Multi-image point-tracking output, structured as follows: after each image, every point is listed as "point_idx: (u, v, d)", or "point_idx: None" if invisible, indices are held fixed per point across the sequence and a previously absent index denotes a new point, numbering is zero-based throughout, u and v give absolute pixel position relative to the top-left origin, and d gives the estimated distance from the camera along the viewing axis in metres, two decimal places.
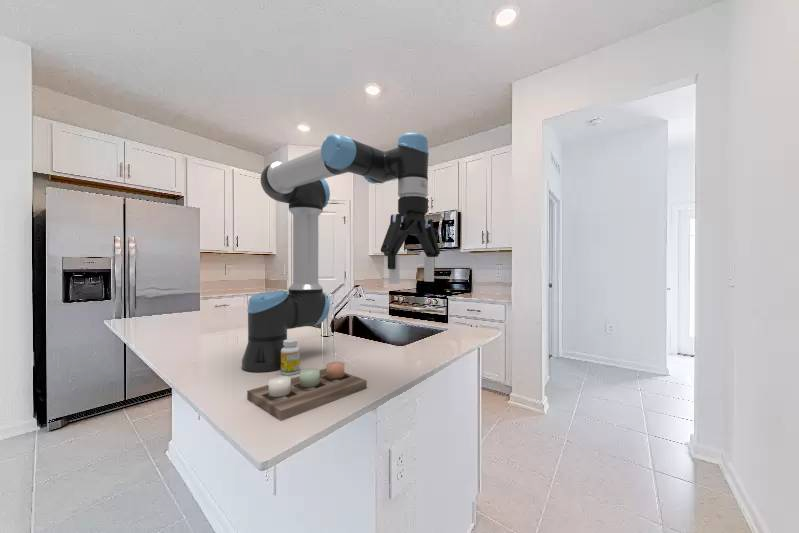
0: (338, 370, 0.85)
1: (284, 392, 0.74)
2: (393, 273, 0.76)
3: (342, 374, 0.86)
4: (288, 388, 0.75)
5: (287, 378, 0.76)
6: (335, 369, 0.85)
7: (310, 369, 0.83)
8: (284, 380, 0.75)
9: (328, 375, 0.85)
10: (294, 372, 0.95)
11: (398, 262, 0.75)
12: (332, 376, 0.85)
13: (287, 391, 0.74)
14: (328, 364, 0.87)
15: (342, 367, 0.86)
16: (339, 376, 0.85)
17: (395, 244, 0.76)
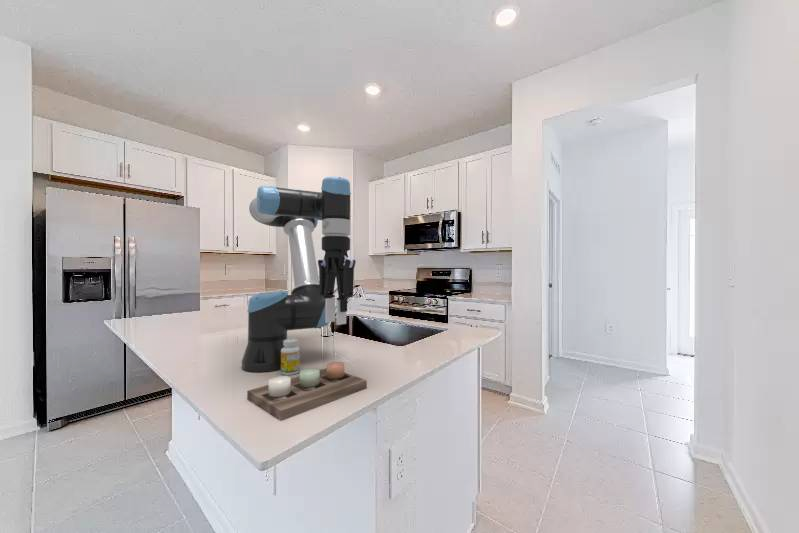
0: (338, 370, 0.85)
1: (284, 392, 0.74)
2: None
3: (342, 374, 0.86)
4: (288, 388, 0.75)
5: (287, 378, 0.76)
6: (335, 369, 0.85)
7: (310, 369, 0.83)
8: (284, 380, 0.75)
9: (328, 375, 0.85)
10: (294, 372, 0.95)
11: (326, 304, 0.88)
12: (332, 376, 0.85)
13: (287, 391, 0.74)
14: (328, 364, 0.87)
15: (342, 367, 0.86)
16: (339, 376, 0.85)
17: None
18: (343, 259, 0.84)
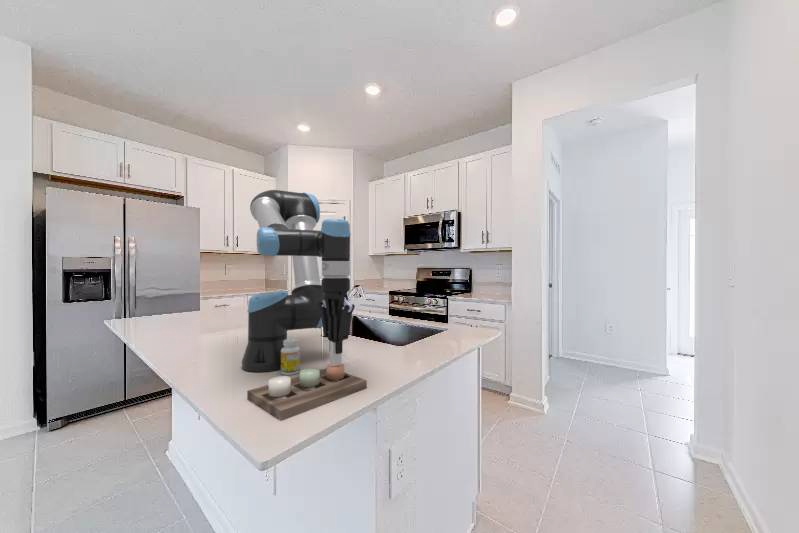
0: (338, 372, 0.85)
1: (284, 392, 0.74)
2: None
3: (342, 376, 0.86)
4: (288, 388, 0.75)
5: (287, 378, 0.76)
6: (335, 371, 0.85)
7: (310, 369, 0.83)
8: (284, 380, 0.75)
9: (328, 377, 0.85)
10: (294, 372, 0.95)
11: (330, 347, 0.86)
12: (332, 377, 0.85)
13: (287, 391, 0.74)
14: (328, 366, 0.87)
15: (342, 369, 0.86)
16: (339, 378, 0.85)
17: None
18: (343, 302, 0.84)
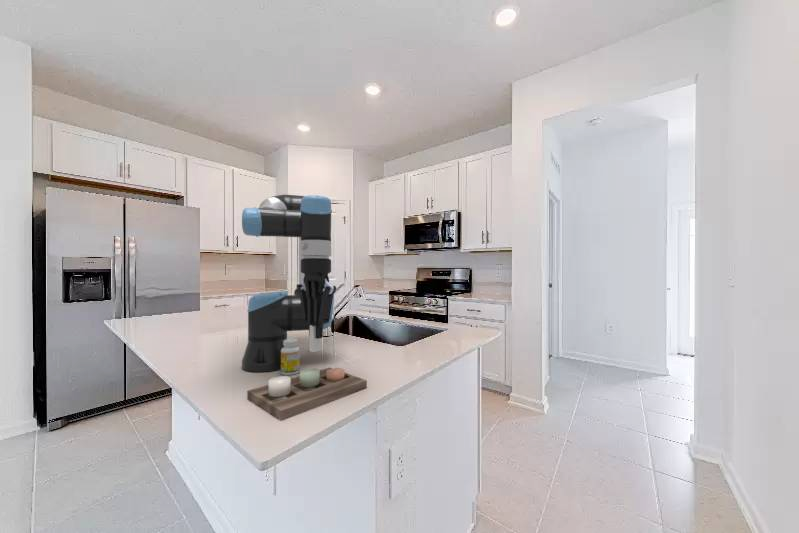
0: (338, 377, 0.85)
1: (284, 392, 0.74)
2: None
3: None
4: (288, 388, 0.75)
5: (287, 378, 0.76)
6: (335, 376, 0.85)
7: (310, 369, 0.83)
8: (284, 380, 0.75)
9: None
10: (294, 372, 0.95)
11: (310, 332, 0.82)
12: None
13: (287, 391, 0.74)
14: (328, 371, 0.87)
15: (342, 374, 0.86)
16: None
17: None
18: (323, 284, 0.79)
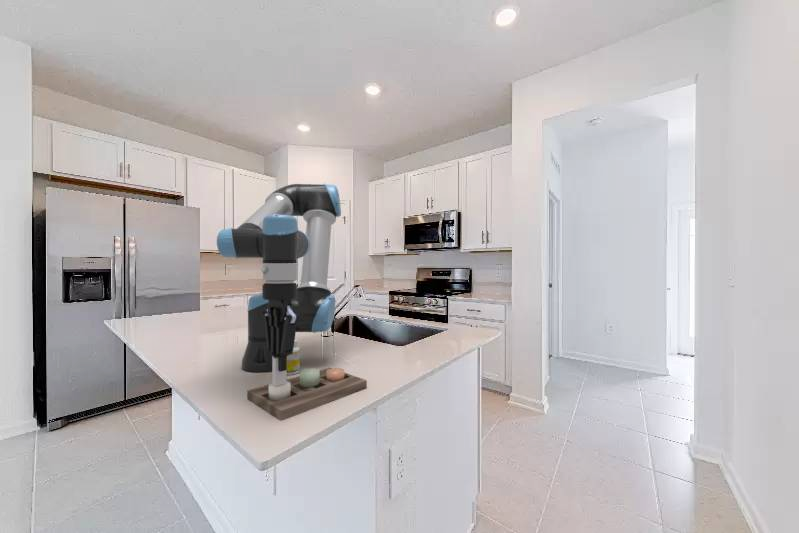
0: (338, 377, 0.85)
1: (284, 397, 0.74)
2: None
3: None
4: (288, 393, 0.75)
5: (287, 383, 0.76)
6: (335, 376, 0.85)
7: (310, 369, 0.83)
8: (284, 385, 0.75)
9: None
10: (294, 372, 0.95)
11: (273, 364, 0.74)
12: None
13: (287, 396, 0.74)
14: (328, 371, 0.87)
15: (342, 374, 0.86)
16: None
17: None
18: (285, 312, 0.72)
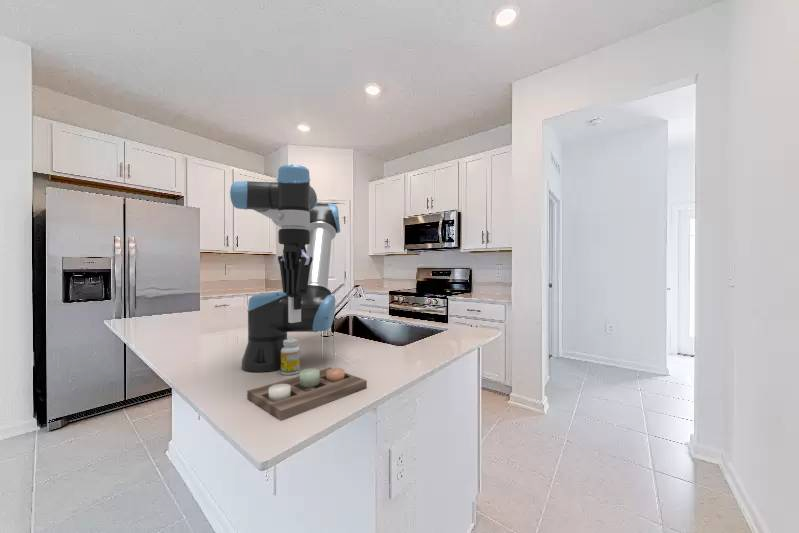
0: (338, 377, 0.85)
1: None
2: None
3: None
4: (288, 396, 0.75)
5: (287, 385, 0.76)
6: (335, 376, 0.85)
7: (310, 369, 0.83)
8: (284, 388, 0.75)
9: None
10: (294, 372, 0.95)
11: (289, 303, 0.81)
12: None
13: None
14: (328, 371, 0.87)
15: (342, 374, 0.86)
16: None
17: None
18: (300, 254, 0.79)
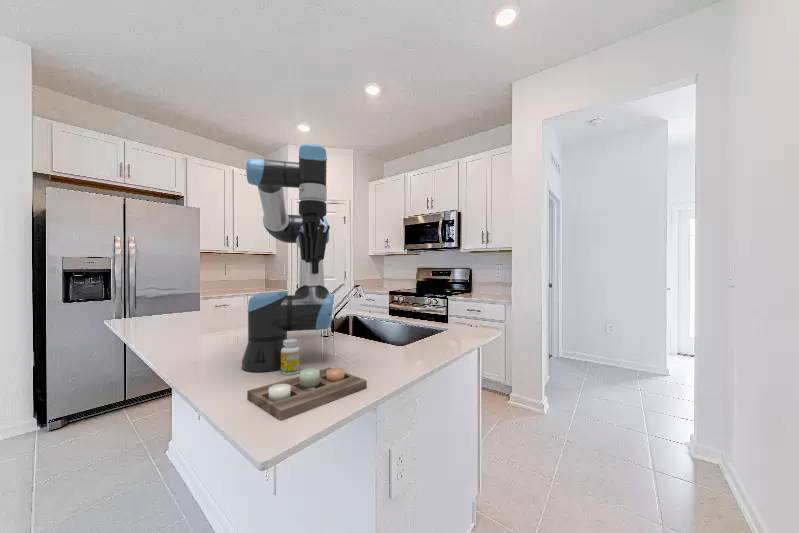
0: (338, 377, 0.85)
1: None
2: None
3: None
4: (288, 396, 0.75)
5: (287, 385, 0.76)
6: (335, 376, 0.85)
7: (310, 369, 0.83)
8: (284, 388, 0.75)
9: None
10: (294, 372, 0.95)
11: (307, 268, 0.90)
12: None
13: None
14: (328, 371, 0.87)
15: (342, 374, 0.86)
16: None
17: None
18: (318, 223, 0.88)
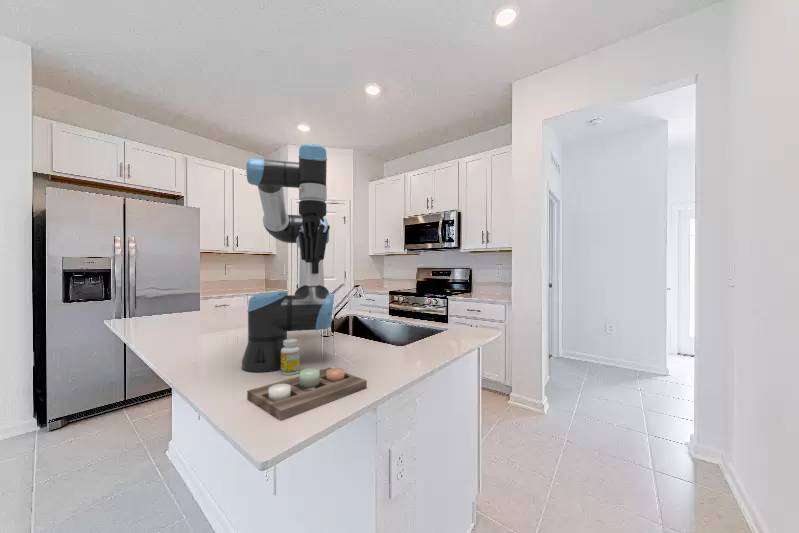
0: (338, 377, 0.85)
1: None
2: None
3: None
4: (288, 396, 0.75)
5: (287, 385, 0.76)
6: (335, 376, 0.85)
7: (310, 369, 0.83)
8: (284, 388, 0.75)
9: None
10: (294, 372, 0.95)
11: (307, 268, 0.90)
12: None
13: None
14: (328, 371, 0.87)
15: (342, 374, 0.86)
16: None
17: None
18: (318, 223, 0.88)
